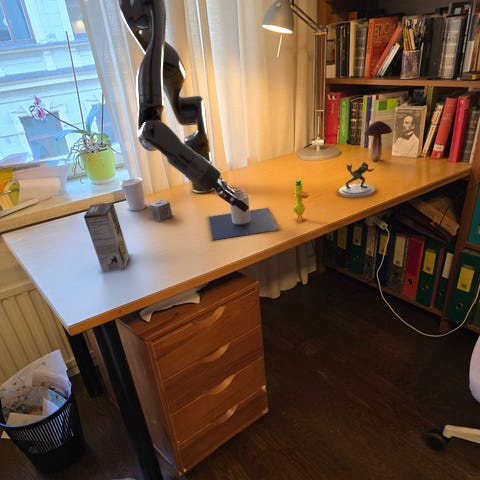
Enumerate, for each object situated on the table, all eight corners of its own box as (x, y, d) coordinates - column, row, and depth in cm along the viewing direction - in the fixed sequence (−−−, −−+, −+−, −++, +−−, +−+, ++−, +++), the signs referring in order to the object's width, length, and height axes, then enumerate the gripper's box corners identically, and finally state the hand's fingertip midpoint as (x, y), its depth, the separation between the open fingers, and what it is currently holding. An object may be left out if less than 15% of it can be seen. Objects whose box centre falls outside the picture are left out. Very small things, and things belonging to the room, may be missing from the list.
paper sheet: (209, 217, 139) (208, 216, 139) (267, 208, 139) (267, 207, 139) (212, 240, 122) (212, 239, 122) (279, 230, 123) (279, 229, 123)
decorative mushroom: (363, 164, 170) (365, 124, 161) (361, 157, 178) (363, 119, 170) (391, 162, 167) (394, 122, 159) (387, 155, 176) (391, 117, 168)
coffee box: (107, 258, 120) (90, 204, 111) (129, 255, 120) (113, 201, 111) (101, 272, 112) (82, 216, 103) (125, 269, 112) (107, 212, 103)
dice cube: (164, 213, 147) (161, 200, 144) (172, 216, 144) (169, 202, 141) (152, 218, 144) (149, 204, 141) (160, 221, 141) (157, 206, 138)
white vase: (231, 219, 133) (227, 189, 127) (249, 216, 133) (246, 186, 127) (233, 225, 128) (229, 194, 122) (251, 222, 128) (248, 192, 123)
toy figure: (312, 221, 126) (312, 181, 119) (303, 224, 124) (302, 184, 117) (299, 216, 131) (297, 177, 124) (290, 219, 129) (288, 180, 122)
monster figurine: (360, 199, 136) (362, 167, 130) (331, 194, 144) (332, 163, 138) (381, 189, 142) (384, 158, 136) (352, 184, 150) (353, 155, 144)
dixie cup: (153, 205, 156) (146, 179, 150) (135, 213, 151) (127, 185, 146) (140, 202, 161) (133, 176, 155) (122, 209, 156) (115, 183, 151)
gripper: (210, 167, 113) (256, 203, 120) (207, 156, 125) (249, 189, 132) (194, 189, 116) (240, 223, 123) (193, 176, 128) (235, 208, 135)
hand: (245, 205), depth 128 cm, fingers closed on white vase, 5 cm apart
